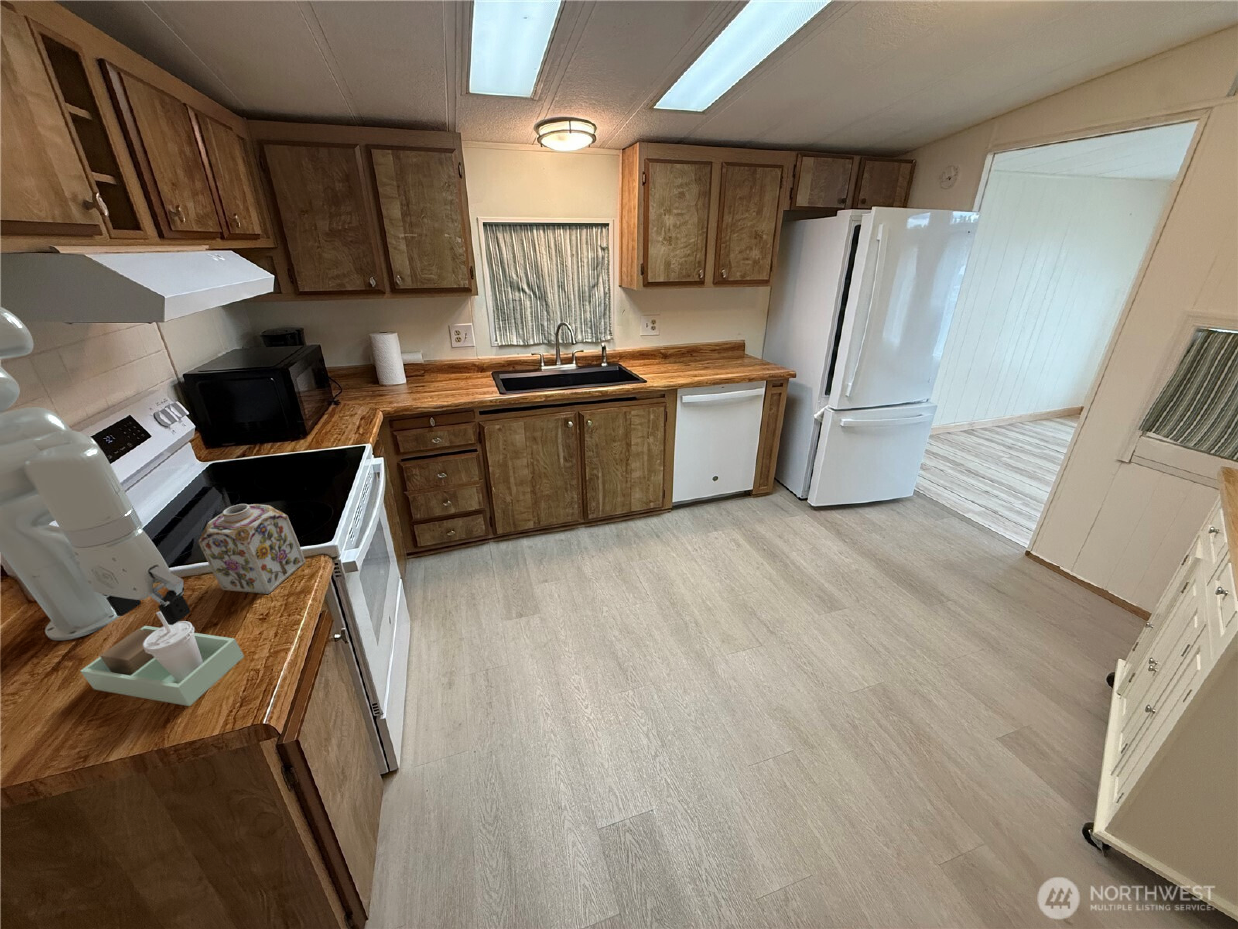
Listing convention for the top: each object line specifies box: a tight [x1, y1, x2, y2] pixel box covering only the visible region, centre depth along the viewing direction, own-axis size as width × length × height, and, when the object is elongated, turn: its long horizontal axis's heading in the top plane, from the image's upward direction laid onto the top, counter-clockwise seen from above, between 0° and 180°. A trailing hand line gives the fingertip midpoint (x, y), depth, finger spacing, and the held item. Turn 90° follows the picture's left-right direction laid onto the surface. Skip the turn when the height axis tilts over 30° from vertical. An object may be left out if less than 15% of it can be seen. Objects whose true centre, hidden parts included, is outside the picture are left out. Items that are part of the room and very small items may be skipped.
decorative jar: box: [198, 503, 306, 595], centre depth 104 cm, size 12×12×18 cm
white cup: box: [143, 610, 203, 683], centre depth 80 cm, size 6×6×14 cm
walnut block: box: [99, 628, 154, 676], centre depth 83 cm, size 6×6×6 cm
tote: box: [80, 625, 245, 707], centre depth 83 cm, size 20×10×5 cm, turn 80°
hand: (154, 614), depth 77 cm, fingers open, 9 cm apart
